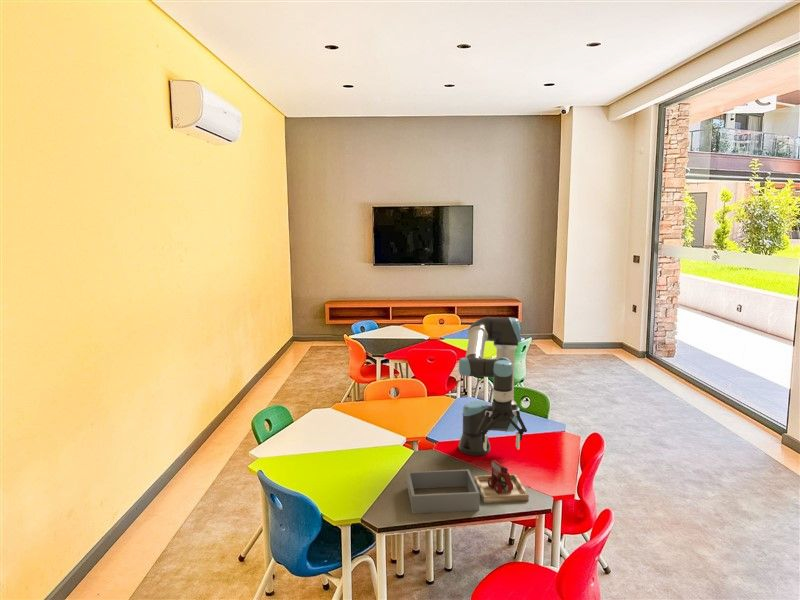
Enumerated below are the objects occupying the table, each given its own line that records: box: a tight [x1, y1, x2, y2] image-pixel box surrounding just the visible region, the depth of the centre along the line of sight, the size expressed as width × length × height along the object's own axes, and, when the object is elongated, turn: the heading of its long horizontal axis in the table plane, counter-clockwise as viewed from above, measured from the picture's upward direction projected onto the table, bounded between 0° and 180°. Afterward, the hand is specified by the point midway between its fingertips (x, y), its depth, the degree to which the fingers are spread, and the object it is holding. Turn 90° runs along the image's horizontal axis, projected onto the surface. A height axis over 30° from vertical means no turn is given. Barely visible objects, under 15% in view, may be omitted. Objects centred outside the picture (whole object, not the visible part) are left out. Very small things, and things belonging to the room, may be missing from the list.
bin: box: [406, 468, 481, 514], centre depth 221 cm, size 20×26×7 cm
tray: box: [473, 473, 530, 504], centre depth 227 cm, size 18×18×2 cm
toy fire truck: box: [488, 459, 513, 494], centre depth 226 cm, size 7×12×10 cm, turn 24°
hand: (501, 448), depth 225 cm, fingers open, 13 cm apart
